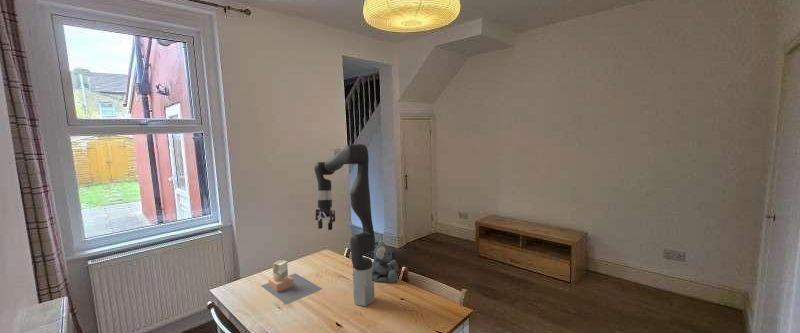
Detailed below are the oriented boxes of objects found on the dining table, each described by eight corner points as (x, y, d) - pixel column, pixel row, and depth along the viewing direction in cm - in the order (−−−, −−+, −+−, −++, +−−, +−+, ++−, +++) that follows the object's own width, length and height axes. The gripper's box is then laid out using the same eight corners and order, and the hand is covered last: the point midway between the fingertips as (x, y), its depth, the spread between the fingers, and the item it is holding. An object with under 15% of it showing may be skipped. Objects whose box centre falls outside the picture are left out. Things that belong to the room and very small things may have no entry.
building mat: (322, 289, 163) (322, 288, 163) (286, 305, 149) (286, 304, 149) (295, 274, 182) (295, 273, 182) (260, 286, 168) (260, 285, 168)
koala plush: (397, 283, 169) (397, 248, 167) (364, 284, 169) (363, 248, 167) (398, 270, 186) (398, 237, 184) (368, 270, 187) (367, 238, 185)
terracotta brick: (293, 285, 167) (293, 278, 167) (277, 292, 160) (276, 284, 160) (285, 280, 173) (284, 273, 173) (269, 286, 167) (268, 279, 166)
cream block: (288, 277, 168) (287, 261, 167) (281, 281, 163) (280, 265, 162) (280, 276, 170) (279, 260, 169) (273, 280, 165) (272, 263, 164)
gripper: (311, 199, 172) (311, 229, 172) (327, 199, 163) (327, 231, 162) (322, 198, 178) (323, 227, 177) (338, 198, 169) (339, 229, 168)
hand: (325, 229), depth 170 cm, fingers open, 8 cm apart
